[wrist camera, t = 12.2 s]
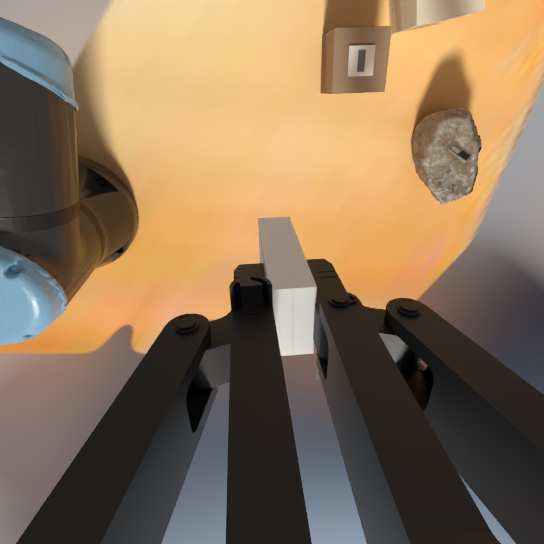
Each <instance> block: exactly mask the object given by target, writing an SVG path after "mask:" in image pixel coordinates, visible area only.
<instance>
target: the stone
mask: <svg viewBox="0 0 544 544" xmlns="http://www.w3.org/2000/svg"><path fill="white" fill-rule="evenodd" d="M412 145H413V147H412V155H413V161H414V163H415V168H416V173H417V174H418V175H419V178H420V179H421V180H422V181H423V182H424V184H425V185H426V186H427V187H428V189H429V190H430V191H431V193H432V195H433V196H434V197H435V198H436V199H437V200H438V201H439V202H440V204H442V205H445V204H446V203H448V202H451V201H455V200H457V199H460V198H461V197H463V196H465V195H468V194H470V193H471V192H472V190H473V186H474V182H475V180H476V176H477V174H478V166H477V161H478V153H479V152H480V150H481V139H480V136H479V135H478V133H477V128H476V126H475V124H474V120H473V119H472V115H471V113H470V111H468V110H467V109H465V108H463V107H458V108H455V109H446V110H441V111H438V112H435V113H432V114H430V115H427V116H426V117H425V118H424V119H422V120H421V121H420V122H419V124H418V125H417V126H416V128H415V130H414V133H413V138H412Z"/></svg>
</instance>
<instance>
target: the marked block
mask: <svg viewBox="0 0 544 544" xmlns="http://www.w3.org/2000/svg"><path fill="white" fill-rule="evenodd" d="M391 29H392V26H381V27H347V28H334V29H332V30H331V31H329V32H327V33H326V34H324V35H323V36H322V63H321V93H327V94H339V93H364V92H385V83H386V74H387V65H388V56H389V47H390V38H391Z"/></svg>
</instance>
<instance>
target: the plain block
mask: <svg viewBox="0 0 544 544" xmlns="http://www.w3.org/2000/svg"><path fill="white" fill-rule="evenodd" d="M483 10H485V0H389V15H390V26H392V29H391V34H396V33H400V32H405V31H409V30H413V29H418V28H422V27H426V26H431V25H435V24H440V23H444V22H448V21H451V20H454V19H458V18H461V17H464V16H467V15H470V14H474V13H477V12H480V11H483Z"/></svg>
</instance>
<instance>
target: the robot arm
mask: <svg viewBox="0 0 544 544" xmlns="http://www.w3.org/2000/svg"><path fill="white" fill-rule="evenodd" d="M76 111H78V103H77V102H76V101H75V93H74V83H73V72H72V66H71V63H70V60H69V58H68V56H67V55H66V54H65V52H64V51H63V50H62V48H60V47H59V46H58V45H57V44H56V43H54V42H53V41H52V40H50V39H48V38H47V37H45V36H43V35H41V34H39V33H37V32H34V31H32V30H30V29H27V28H25V27H23V26H21V25H18V24H16V23H14V22H11V21H9V20H6V19H4V18H1V17H0V345H2V344H13V343H19V342H23V341H26V340H29V339H31V338H33V337H35V336H37V335H38V334H40V333H42V332H43V331H44V330H45V329H47V327H48V326H50V325H51V324H52V323H53V322H54V321H55V320H56V319H57V318H59V317H60V316H61V315H62V314H63V312H64V311H65V308H66V307H67V305H68V303H69V302H70V301H71V299H72V298H73V297H74V296H75V294H76V293H77V292H78V290H79V289H80V288H81V286H82V285H83V284H84V283H85V281H86V280H87V279H88V277H89V276H90V275H91V273H92V272H93V271H94V270H95V269H96V268H99V267H101V266H104V265H107V264H109V263H111V262H113V261H115V260H116V259H118V258H119V257H120V256H122V255H123V254H124V253H125V252H126V250H127V249H128V248H129V246H130V245H131V243H132V242H133V240H134V238H135V236H136V233H137V229H138V211H137V207H136V204H135V201H134V199H133V197H132V195H131V193H130V192H129V190H128V189H127V187H126V186H125V185H124V183H123V182H122V181H121V180H120V179H119V178H118V177H117V176H116V175H115V174H113V173H112V172H111V171H109V170H108V169H107V168H105V167H103V166H102V165H100V164H98V163H95V162H93V161H90V160H87V159H84V158H79V157H78V149H77V129H76ZM258 225H259V248H260V263H259V264H243V265H239V266H238V267H237V268H236V269H235V270H234V281H233V282H232V283H231V284H230V287H229V288H230V299H231V311H230V313H228V314H227V315H226V316H224V317H222V318H220V319H217V320H214V321H211V322H209V321H208V319H207V318H206V317H204V316H203V315H199V314H184V315H181V316H178V317H176V318H174V319H172V320H170V321H169V322H168V323H167V324H166V326H165V327H164V329H163V330H162V332H161V333H160V334H159V336H158V337H157V339H156V340H155V342H154V343H153V345H152V346H151V348H150V349H149V350H148V352H147V353H146V355H145V357H144V358H143V359H142V361H141V362H140V364H139V365H138V367H137V368H136V369H135V371H134V372H133V374H132V375H131V377H130V378H129V380H128V381H127V383H126V384H125V386H124V387H123V389H122V390H121V391H120V393H119V394H118V396H117V397H116V399H115V400H114V402H113V403H112V405H111V406H110V407H109V409H108V410H107V412H106V413H105V415H104V416H103V418H102V419H101V421H100V422H99V423H98V425H97V426H96V428H95V429H94V431H93V432H92V434H91V435H90V437H89V438H88V440H87V441H86V442H85V444H84V445H83V447H82V448H81V450H80V451H79V453H78V454H77V456H76V457H75V459H74V460H73V462H72V463H71V464H70V466H69V467H68V469H67V470H66V472H65V473H64V475H63V476H62V478H61V479H60V480H59V482H58V483H57V485H56V486H55V488H54V489H53V491H52V492H51V494H50V495H49V497H48V498H47V500H46V501H45V502H44V504H43V505H42V507H41V508H40V510H39V511H38V513H37V514H36V516H35V517H34V518H33V520H32V521H31V523H30V524H29V526H28V527H27V529H26V530H25V532H24V533H23V535H22V536H21V537H20V539H19V540H18V542H17V543H16V544H161V543H162V540H163V537H164V534H165V531H166V529H167V526H168V524H169V521H170V518H171V515H172V513H173V510H174V507H175V505H176V502H177V499H178V496H179V494H180V491H181V488H182V486H183V483H184V480H185V478H186V475H187V472H188V469H189V466H190V464H191V461H192V459H193V456H194V453H195V450H196V448H197V445H198V442H199V440H200V437H201V434H202V431H203V429H204V425H205V423H206V420H207V418H208V415H209V412H210V410H211V407H212V404H213V402H214V399H215V396H216V393H217V389H218V386H219V385H222V384H225V383H228V382H230V393H229V395H230V396H229V434H228V435H229V436H228V475H227V517H226V544H312V543H311V537H310V531H309V525H308V519H307V512H306V506H305V500H304V494H303V488H302V482H301V477H300V470H299V464H298V457H297V452H296V445H295V439H294V433H293V427H292V421H291V415H290V409H289V402H288V396H287V390H286V384H285V378H284V372H283V366H282V360H281V356H286V355H299V354H311V353H314V343H315V346H316V349H317V360H316V380H319V375H320V377H321V381H322V385H323V388H324V392H325V395H326V399H327V403H328V406H329V410H330V413H331V417H332V420H333V424H334V428H335V431H336V435H337V438H338V442H339V446H340V449H341V453H342V456H343V459H344V463H345V467H346V470H347V474H348V477H349V481H350V485H351V488H352V491H353V495H354V499H355V503H356V506H357V510H358V513H359V517H360V520H361V524H362V528H363V531H364V535H365V538H366V542H367V544H501V543H500V542H499V541H498V540H497V539H496V538H495V536H494V535H493V533H492V532H491V530H490V529H489V527H488V525H487V523H486V522H485V520H484V518H483V516H482V515H481V513H480V511H479V509H478V508H477V506H476V504H475V502H474V501H473V499H472V497H471V495H470V494H469V492H468V490H467V489H466V486H465V485H464V483H463V481H462V479H461V478H460V476H461V477H462V478H463V479H464V481H465V482H466V483H467V484H468V485H469V487H470V488H471V489H472V490H473V491H474V493H475V494H476V495H477V496H478V498H479V499H480V500H481V501H482V502H483V504H484V505H485V506H486V507H487V508H488V510H489V511H490V512H491V513H492V515H493V516H494V517H495V518H496V519H497V521H498V522H499V523H500V524H501V525H502V527H503V528H504V529H505V530H506V532H507V533H508V534H509V535H510V536H511V538H512V539H513V540H514V541H515V542H516V544H544V395H543V394H542V393H540V392H539V391H538V390H536V389H535V388H534V387H532V386H531V385H530V384H529V383H527V382H526V381H525V380H523V379H522V378H521V377H519V376H518V375H517V374H515V373H514V372H513V371H512V370H510V369H509V368H508V367H506V366H505V365H504V364H502V363H501V362H500V361H498V360H497V359H495V358H494V357H493V356H492V355H490V354H489V353H488V352H487V351H485V350H484V349H482V348H481V347H480V346H479V345H477V344H476V343H475V342H473V341H472V340H471V339H469V338H468V337H467V336H465V335H464V334H463V333H462V332H460V331H459V330H458V329H456V328H455V327H454V326H452V325H451V324H450V323H448V322H447V321H446V320H444V319H443V318H441V317H440V316H439V315H438V314H437V313H435V312H434V311H433V310H431V309H430V308H429V307H427V306H426V305H424V304H422V303H421V302H419V301H416V300H413V299H409V298H398V299H393V300H391V301H389V302H388V303H387V305H386V310H383V309H375V308H369V307H365V306H363V305H362V303H361V301H360V300H359V299H358V298H357V297H356V296H355V295H353V294H351V293H348V292H346V290H345V288H344V286H343V284H342V282H341V280H340V278H339V277H338V275H337V273H336V272H335V269H334V267H333V265H332V264H331V263H329V262H328V261H327V260H325V259H312V260H306V258H305V255H304V253H303V250H302V248H301V245H300V243H299V240H298V238H297V235H296V233H295V230H294V228H293V225H292V223H291V220H290V218H289V217H278V218H258ZM420 359H422V360H423V361H424V362H425V363H426V364H427V365H428V367H427V368H425V367H424V366H423V365H421V363H420ZM458 473H459V474H458ZM459 475H460V476H459Z"/></svg>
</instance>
